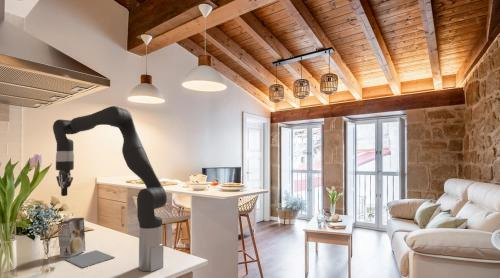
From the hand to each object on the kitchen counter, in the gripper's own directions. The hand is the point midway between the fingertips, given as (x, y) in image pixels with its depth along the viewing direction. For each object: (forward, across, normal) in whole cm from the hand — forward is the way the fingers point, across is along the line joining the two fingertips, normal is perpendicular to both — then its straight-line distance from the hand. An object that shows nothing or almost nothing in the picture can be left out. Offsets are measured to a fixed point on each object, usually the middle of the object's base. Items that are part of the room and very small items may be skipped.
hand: (64, 195), depth 145 cm
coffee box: (+27, -10, 0) cm, 28 cm away
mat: (+27, -22, -2) cm, 35 cm away
